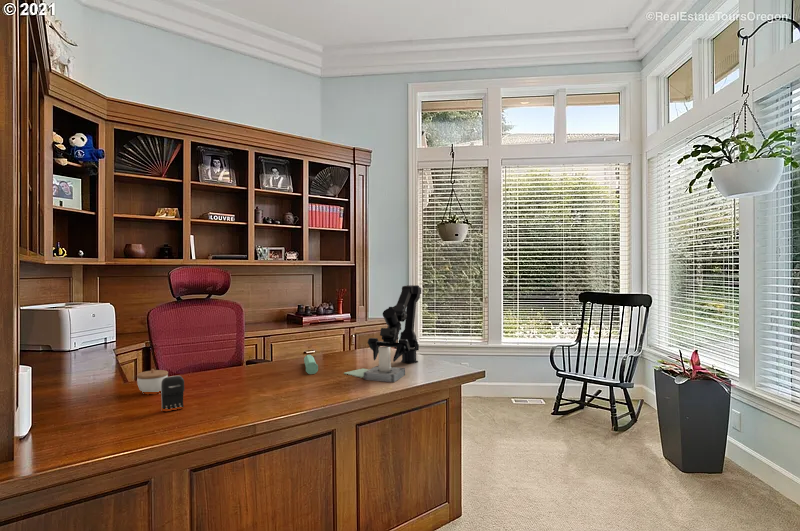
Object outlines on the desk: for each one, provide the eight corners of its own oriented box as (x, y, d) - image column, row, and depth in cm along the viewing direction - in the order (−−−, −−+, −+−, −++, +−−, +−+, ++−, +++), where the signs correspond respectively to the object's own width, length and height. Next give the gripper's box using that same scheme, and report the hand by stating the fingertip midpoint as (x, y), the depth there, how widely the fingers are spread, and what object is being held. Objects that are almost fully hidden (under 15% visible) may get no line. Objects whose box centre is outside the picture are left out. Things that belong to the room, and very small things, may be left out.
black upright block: (163, 413, 156) (163, 379, 156) (160, 411, 159) (160, 377, 159) (185, 409, 161) (185, 376, 161) (182, 407, 164) (182, 374, 164)
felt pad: (363, 369, 221) (363, 368, 221) (381, 373, 213) (381, 372, 213) (343, 373, 213) (343, 372, 213) (362, 377, 204) (362, 376, 204)
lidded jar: (132, 393, 182) (132, 369, 182) (161, 387, 190) (161, 364, 190) (142, 398, 175) (142, 373, 175) (172, 392, 183) (172, 368, 183)
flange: (376, 372, 215) (376, 366, 215) (405, 374, 210) (405, 368, 210) (363, 379, 201) (363, 372, 201) (394, 382, 197) (394, 375, 197)
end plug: (386, 375, 209) (386, 346, 209) (393, 377, 205) (392, 347, 205) (376, 377, 206) (376, 347, 206) (383, 379, 202) (382, 349, 202)
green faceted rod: (305, 351, 237) (308, 360, 212) (316, 355, 238) (320, 364, 214) (300, 362, 236) (303, 372, 212) (311, 366, 237) (315, 376, 213)
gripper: (369, 320, 213) (358, 348, 202) (407, 321, 207) (399, 350, 196) (375, 335, 220) (366, 363, 210) (413, 336, 214) (405, 366, 203)
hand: (383, 360), depth 205 cm, fingers open, 9 cm apart
